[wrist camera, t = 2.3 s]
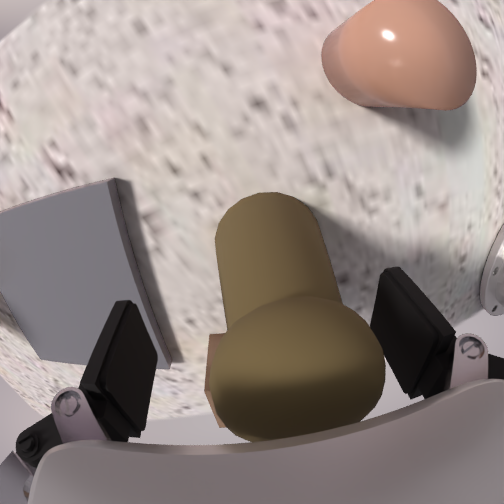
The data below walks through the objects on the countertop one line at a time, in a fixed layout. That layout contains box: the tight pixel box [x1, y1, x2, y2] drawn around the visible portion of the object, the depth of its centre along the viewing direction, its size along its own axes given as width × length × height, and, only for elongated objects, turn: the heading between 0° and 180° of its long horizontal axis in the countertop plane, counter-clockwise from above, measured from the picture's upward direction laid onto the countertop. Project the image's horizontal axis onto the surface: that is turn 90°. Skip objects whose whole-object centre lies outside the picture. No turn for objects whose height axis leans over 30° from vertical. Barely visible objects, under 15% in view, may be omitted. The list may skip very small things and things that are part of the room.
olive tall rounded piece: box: [209, 192, 386, 442], centre depth 11 cm, size 6×6×11 cm
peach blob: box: [321, 0, 476, 110], centre depth 9 cm, size 5×5×6 cm
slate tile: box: [0, 178, 172, 369], centre depth 16 cm, size 14×14×1 cm
